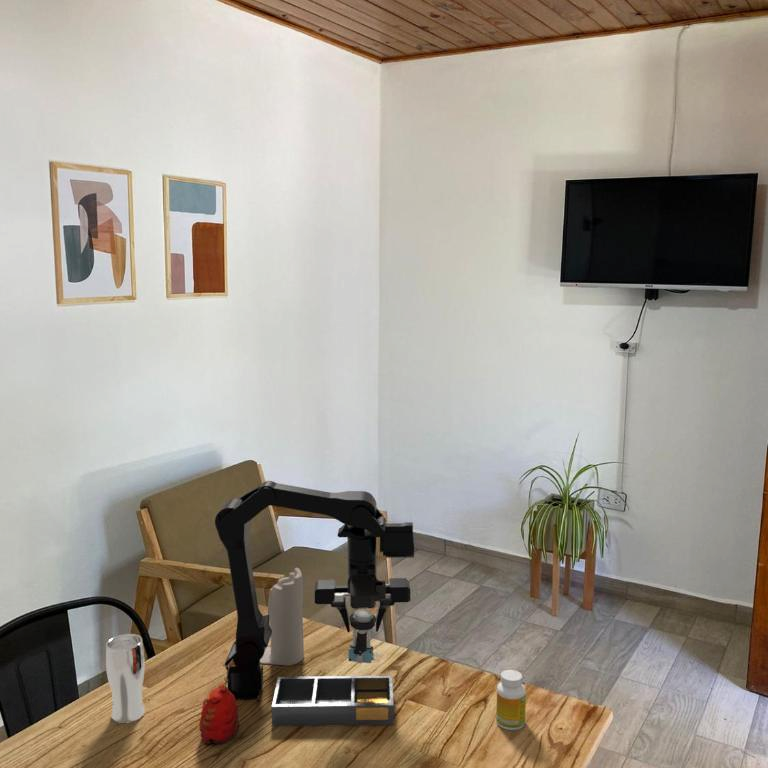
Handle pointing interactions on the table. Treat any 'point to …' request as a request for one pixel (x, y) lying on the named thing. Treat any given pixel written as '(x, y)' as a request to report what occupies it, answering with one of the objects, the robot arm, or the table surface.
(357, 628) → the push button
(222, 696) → the red clay folk toy
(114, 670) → the beer glass
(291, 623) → the grey tall wavy piece
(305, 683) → the divided tray
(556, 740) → the table surface
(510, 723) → the supplement bottle
